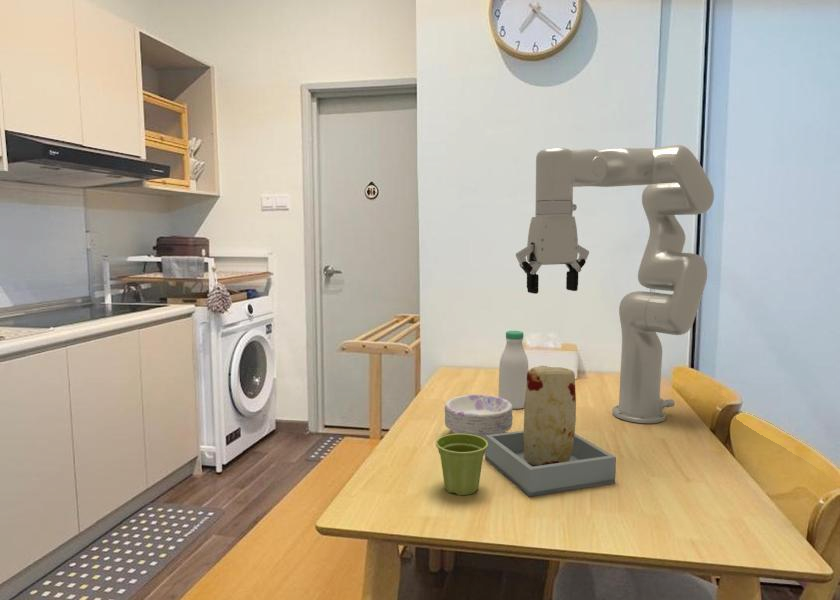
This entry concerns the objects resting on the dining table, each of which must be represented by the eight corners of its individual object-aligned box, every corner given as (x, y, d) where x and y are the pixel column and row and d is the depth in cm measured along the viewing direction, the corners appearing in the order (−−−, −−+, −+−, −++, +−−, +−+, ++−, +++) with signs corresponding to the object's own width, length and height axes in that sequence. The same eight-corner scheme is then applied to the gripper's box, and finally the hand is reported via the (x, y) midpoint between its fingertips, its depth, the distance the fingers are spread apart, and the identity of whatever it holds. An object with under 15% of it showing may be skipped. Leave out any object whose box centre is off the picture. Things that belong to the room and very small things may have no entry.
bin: (561, 448, 124) (561, 426, 123) (615, 483, 107) (616, 457, 106) (484, 458, 118) (485, 435, 117) (529, 497, 101) (530, 469, 100)
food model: (521, 469, 111) (523, 367, 108) (524, 456, 117) (526, 360, 115) (573, 475, 108) (577, 371, 106) (573, 461, 115) (577, 363, 112)
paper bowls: (435, 444, 126) (435, 409, 125) (455, 422, 140) (455, 391, 139) (504, 453, 121) (505, 417, 120) (517, 430, 135) (518, 397, 134)
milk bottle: (529, 409, 151) (531, 334, 148) (500, 409, 151) (501, 334, 148) (524, 401, 158) (527, 329, 156) (496, 401, 158) (498, 329, 156)
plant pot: (444, 503, 98) (445, 454, 97) (428, 480, 107) (429, 435, 106) (495, 496, 101) (496, 449, 100) (475, 475, 110) (476, 431, 109)
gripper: (577, 210, 126) (576, 287, 129) (508, 210, 120) (507, 292, 123) (599, 209, 119) (597, 291, 122) (527, 209, 113) (526, 296, 116)
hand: (552, 291), depth 122 cm, fingers open, 9 cm apart
